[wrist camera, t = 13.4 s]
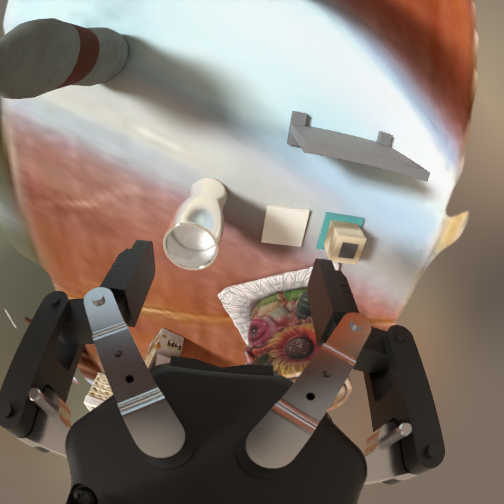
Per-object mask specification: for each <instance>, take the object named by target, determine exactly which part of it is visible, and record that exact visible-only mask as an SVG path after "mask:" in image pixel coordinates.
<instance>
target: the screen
mask: <svg viewBox="0 0 504 504" xmlns="http://www.w3.org/2000/svg"><path fill="white" fill-rule="evenodd" d="M306 118H307V114H306V113H302V112H296V111H292V116H291V123H290V129H289V135H288V141H287V144H289V145H296V146H300V147H301V149H302V150H303V152H305V153H311V154H316V155H322V156H327V157H332V158H337V159H342V160H347V161H351V162H356V163H360V164H364V165H369V166H373V167H377V168H381V169H385V170H389V171H392V172H396V173H400V174H403V175H407V176H410V177H414V178H417V179H420V180H424V181H428V178H429V175H430V172H428V171H427V170H425V169H424V168H422V167H421V166H420V165H418V164H417V163H415V162H414V161H412V160H410V159H409V158H407V157H406V156H404V155H403V154H401V153H399V152H398V151H396V150H395V149H393V148H391V147H390V144H391V140H392V136H393V135H391V134H388V133H384V132H381V131H379V134H378V139H377V142H375V141H371V140H367V139H364V138H360V137H356V136H352V135H348V134H343V133H339V132H335V131H330V130H325V129H320V128H315V127H310V126H305V124H306Z"/></svg>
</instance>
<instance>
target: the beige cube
mask: <svg viewBox="0 0 504 504" xmlns="http://www.w3.org/2000/svg"><path fill="white" fill-rule="evenodd" d="M366 240H367V239H366V237H365V236H364V234H363V232H362V231H361V229H360V227H359V226H358V224H356V223H349V222H343V221H336V220H331V221H330V225H329V228H328V232H327V235H326V238H325V242H324V247H325V250H326V252H327V255H328V258H329V260H332V262H339V263H349V264H357V263H358V260H359V258H360V255H361V253H362V250H363V248H364V245H365V242H366Z"/></svg>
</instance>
